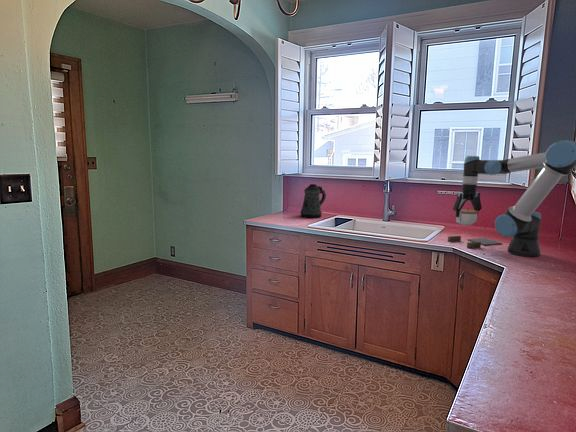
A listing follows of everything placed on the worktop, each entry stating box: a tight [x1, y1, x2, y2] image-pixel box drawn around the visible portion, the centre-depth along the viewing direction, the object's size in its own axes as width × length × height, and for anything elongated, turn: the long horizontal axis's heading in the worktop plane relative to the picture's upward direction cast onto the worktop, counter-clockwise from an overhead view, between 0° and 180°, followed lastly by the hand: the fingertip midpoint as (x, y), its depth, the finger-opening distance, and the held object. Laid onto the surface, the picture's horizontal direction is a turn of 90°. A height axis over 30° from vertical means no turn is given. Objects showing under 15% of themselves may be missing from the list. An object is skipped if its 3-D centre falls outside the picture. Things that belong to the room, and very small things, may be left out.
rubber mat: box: [467, 237, 503, 247], centre depth 235 cm, size 13×13×1 cm
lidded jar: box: [459, 207, 479, 226], centre depth 226 cm, size 11×11×9 cm
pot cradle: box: [447, 235, 482, 250], centre depth 229 cm, size 17×8×3 cm, turn 18°
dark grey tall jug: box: [300, 183, 327, 219], centre depth 308 cm, size 16×19×25 cm
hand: (466, 222), depth 227 cm, fingers closed on lidded jar, 11 cm apart
